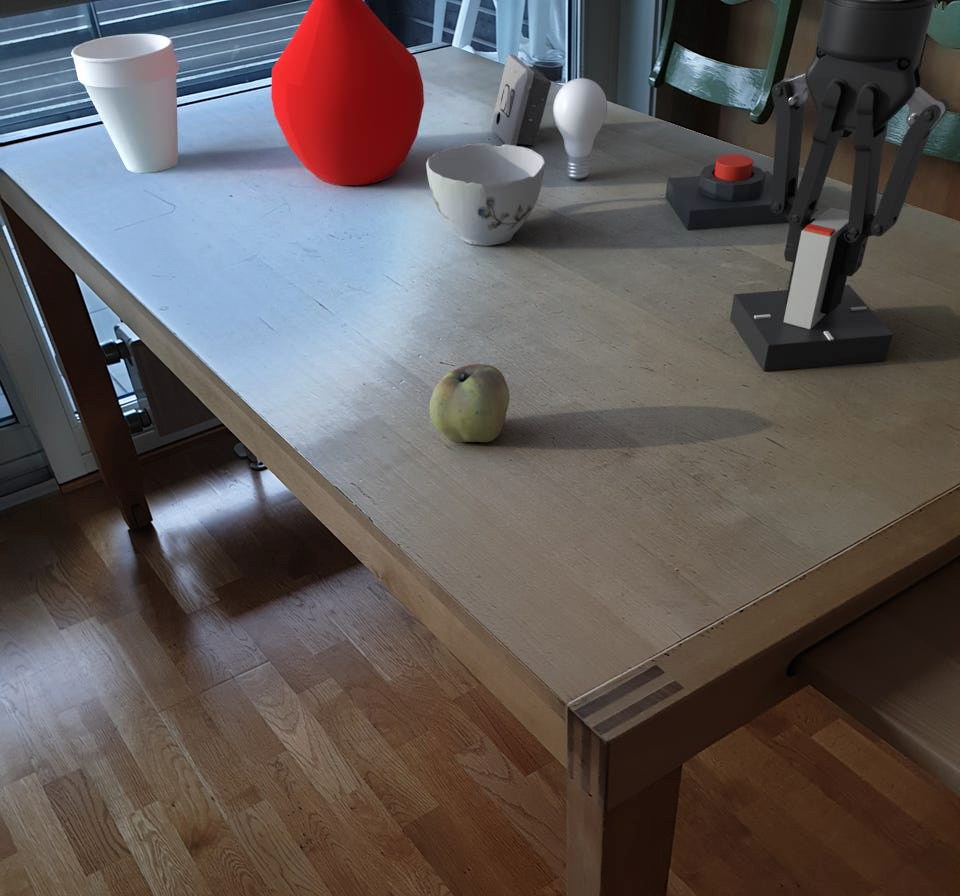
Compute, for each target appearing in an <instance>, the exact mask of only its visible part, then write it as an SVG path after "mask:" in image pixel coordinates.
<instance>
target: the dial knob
mask: <svg viewBox="0 0 960 896" xmlns="http://www.w3.org/2000/svg"><path fill="white" fill-rule="evenodd" d="M849 212H850V210H844V209H839V208H836V207H835V208H834V207H829V208H828V209H826V211H824V212H823V213H821V215H819V216H818V217H817V218H815V219H816V220H815V221H813V222H812V223H811V224H809V225H807V226H806V227H805V229H804V230H802V232H801V237H800V242H799V247H798V252H797V257H796V262H795V267H794V272H793V277H792V282H791V287H790V292H789V297H788V302H787V307H786V312H785V317H784V323H788V324H792V325H795V326H799V327H803V328H806V329H811V328H812V327H813V326H814V325H815V324H816V323H817V322H818V321H819V320H821V319H822V318H823V317H824V316H825V315H826V314H824V313H820V311H821V306H822V302H823V297H824V293H825V288H826V284H827V280H828V275H829V271H830V266H831V262H832V257H833V253H834V249H835V244H836V240H837V237H838V236H839V235H841V234H842V233H843V232H844V231H845V230H847V229H848V222H849Z"/></svg>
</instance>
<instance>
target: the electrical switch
mask: <svg viewBox="0 0 960 896" xmlns="http://www.w3.org/2000/svg"><path fill="white" fill-rule="evenodd" d="M551 85H552V81H551V80H550V79H548V78H547V77H546V76H545V75H544V73H542V72H541V71H539V70H538V69H537V68H536V67H535V66H531V65H527V64H525V62H523V61H522V60H521V59H520V58H519V57H518V56H516V54H508V55H507V57H506V60H505V63H504V68H503V71H502V77H501V80H500V85H499V89H498V94H497V98H496V101H495V106H494V107H495V108H494V111H493V116H492V120H491V130H492V131H493V132H494V133H495V135H496V136H497V137H498V138H499V139H500V140H501V142H503V144H504V145H505V144H507V145H514V146H518V145H517V144H520V145H527V146H533V147H535V146H536V143H537V139H538V137H539V136H538V135H539V132H540V128H541V124H542V119H543V116H544V112H545V109H546V106H547V105H546V104H547V101H548V98H549V93H550V89H551Z"/></svg>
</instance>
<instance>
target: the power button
mask: <svg viewBox="0 0 960 896" xmlns="http://www.w3.org/2000/svg"><path fill="white" fill-rule="evenodd" d="M715 164H716V166H715V174H714V177H716V178H719V179H722V180H730V181H739V180H746V179H749V178H751V173H752V166H754V159H753V158H751V157H749V156H747V155H745V154H744V155H743V154H738V153H737V154H736V153H731V154H723V155H720V156H718V157H717V158H716V160H715Z"/></svg>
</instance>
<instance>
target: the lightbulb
mask: <svg viewBox="0 0 960 896" xmlns="http://www.w3.org/2000/svg"><path fill="white" fill-rule="evenodd" d="M607 115H608V100H607V97H606V94H605V92H604V90H603V88H602V87H601V86H600V84H598V83H597V82H596V81H594V80H592V79H590V78H586V77H585V78H584V77H578V78H574V79H571V80H568V81H567V82H566V83H564V84H563V86H561V87H560V88H559V90H558V91H557V93H556V94H555V97H554V100H553V105H552V116H553V120H554V123H555V125H556V128H557V130H558V131H559V133H560V135H561V137H562V139H563V144H564V149H565V152H566V157H567V158H566V160H567V161H566V163H567V165H566V167H567V169H566V171H567V172H566V176H568V177H569V178H570V179H572V180H574V181H581V180H583V179H584V178H586V177H587V176H589V174H590V170H589V169H590V167H589V166H590V154H591V152H592V150H593V147H594V142H595V139H596V137H597V135H598V133H599V132H600V131H601V129H602V128H603V126H604V123H605V121H606V118H607Z"/></svg>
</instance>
